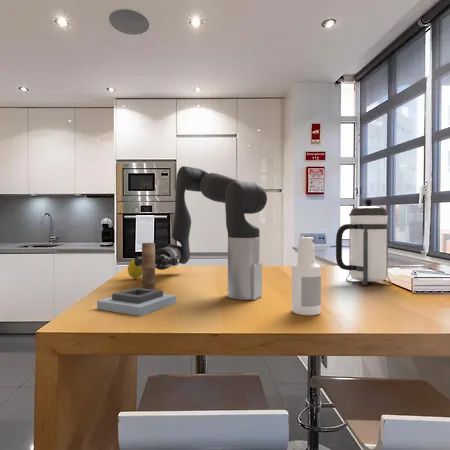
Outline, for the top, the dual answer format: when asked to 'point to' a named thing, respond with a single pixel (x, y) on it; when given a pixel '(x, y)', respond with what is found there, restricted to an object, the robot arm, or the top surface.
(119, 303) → the socket
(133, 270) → the lemon
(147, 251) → the peg
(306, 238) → the spray bottle
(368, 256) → the coffee press
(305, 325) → the top surface
